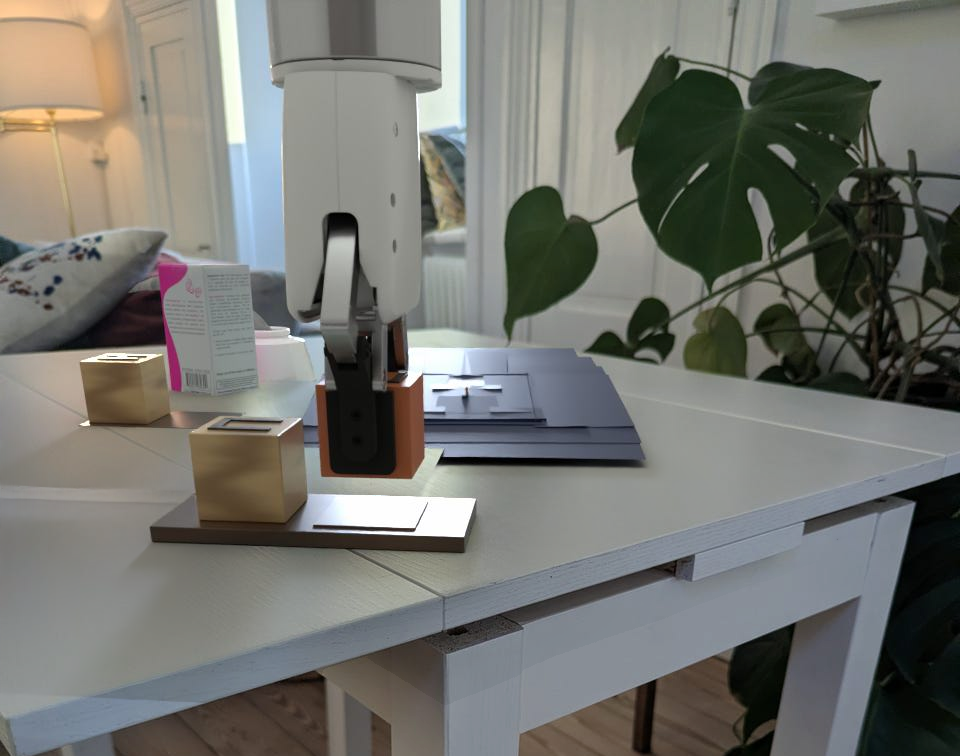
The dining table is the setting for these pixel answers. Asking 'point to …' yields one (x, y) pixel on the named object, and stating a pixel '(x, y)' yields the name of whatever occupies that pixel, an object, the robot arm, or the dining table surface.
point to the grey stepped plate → (515, 405)
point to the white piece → (268, 347)
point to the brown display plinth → (296, 498)
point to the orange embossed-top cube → (406, 426)
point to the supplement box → (209, 327)
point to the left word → (134, 394)
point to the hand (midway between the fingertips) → (373, 456)
